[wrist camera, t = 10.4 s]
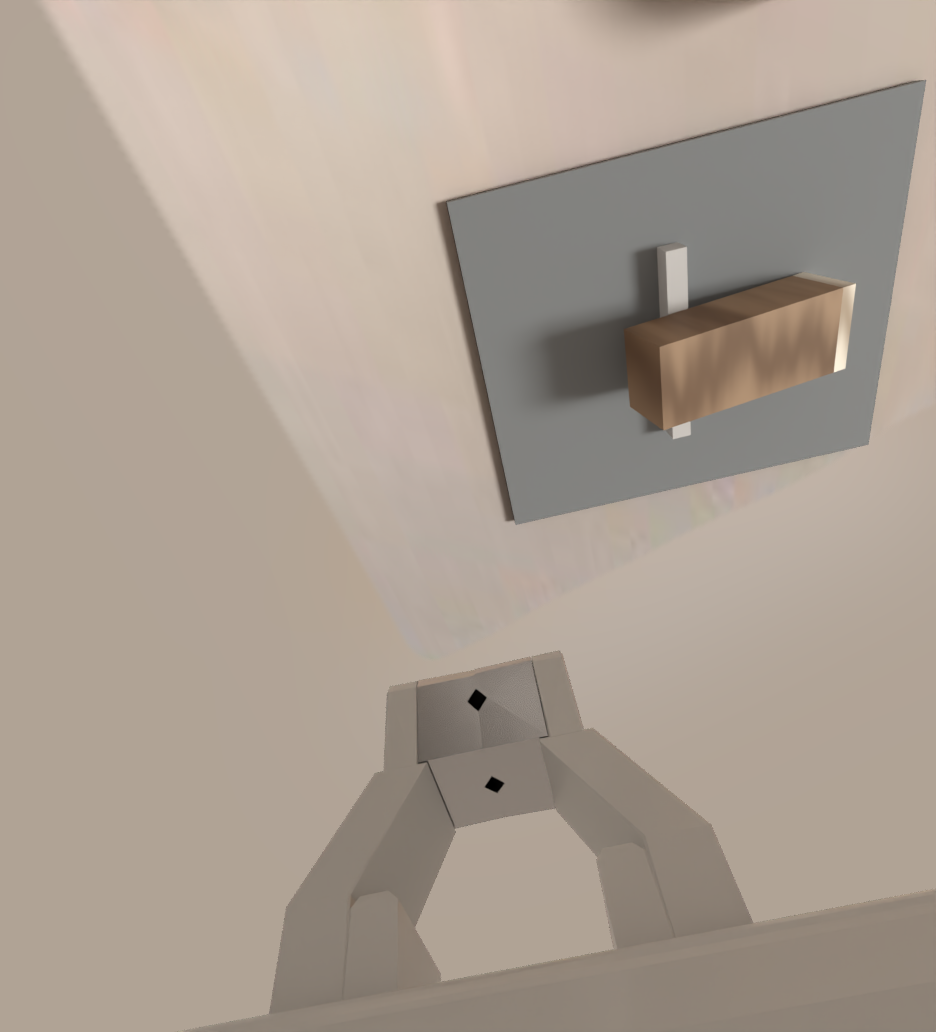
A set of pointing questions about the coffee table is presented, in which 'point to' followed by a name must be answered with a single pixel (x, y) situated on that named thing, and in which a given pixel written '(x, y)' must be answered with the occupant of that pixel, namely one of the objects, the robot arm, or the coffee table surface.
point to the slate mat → (680, 294)
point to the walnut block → (738, 348)
